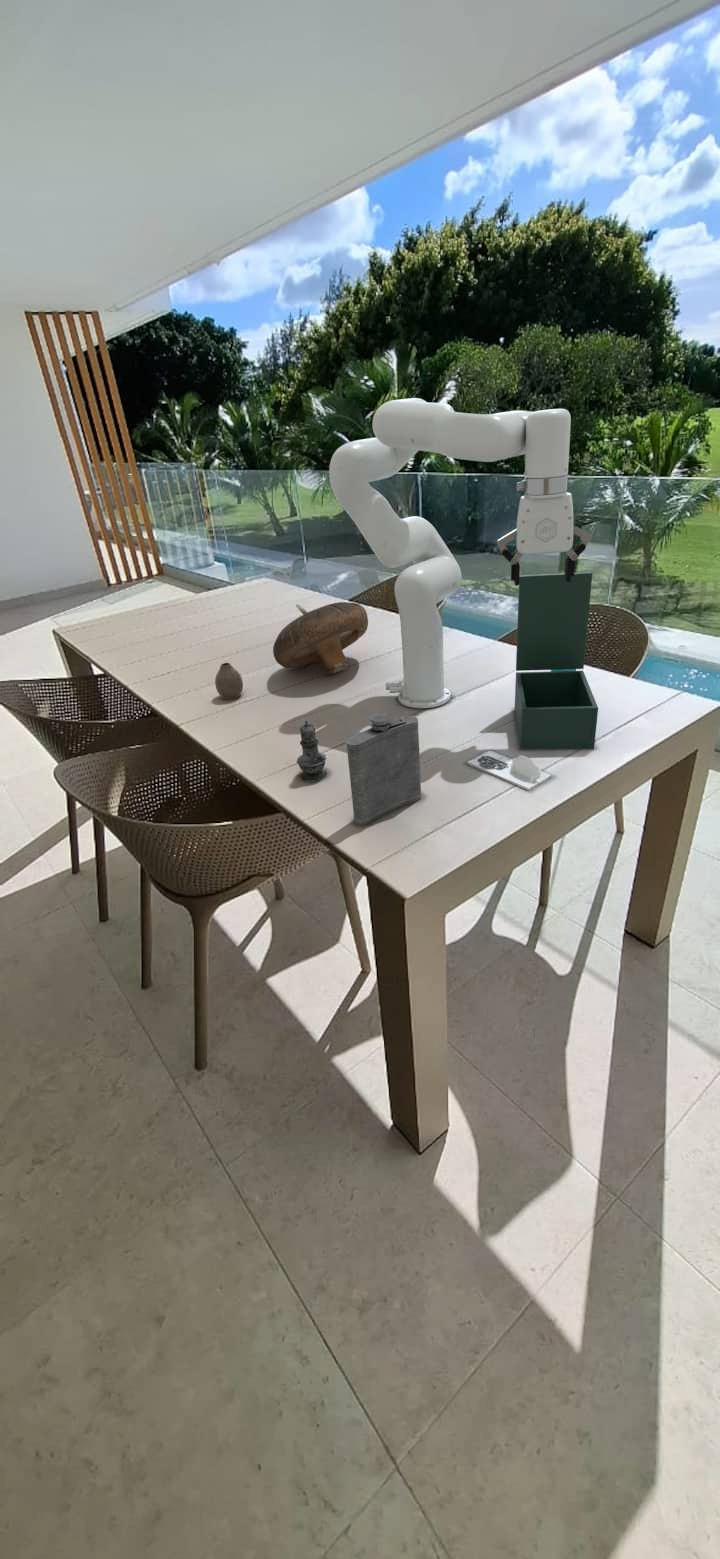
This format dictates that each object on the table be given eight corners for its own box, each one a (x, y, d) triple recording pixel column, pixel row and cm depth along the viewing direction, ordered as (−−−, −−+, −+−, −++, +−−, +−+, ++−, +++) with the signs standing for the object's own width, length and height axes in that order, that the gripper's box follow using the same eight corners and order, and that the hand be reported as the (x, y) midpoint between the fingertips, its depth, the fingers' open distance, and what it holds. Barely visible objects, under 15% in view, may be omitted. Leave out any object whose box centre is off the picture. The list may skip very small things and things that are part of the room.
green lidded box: (594, 748, 133) (598, 707, 129) (520, 749, 135) (522, 709, 131) (579, 707, 150) (583, 670, 146) (514, 709, 152) (515, 672, 148)
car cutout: (551, 777, 125) (552, 756, 123) (528, 790, 122) (529, 769, 119) (489, 752, 135) (490, 732, 133) (467, 764, 132) (467, 743, 130)
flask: (348, 818, 119) (338, 726, 110) (411, 790, 125) (407, 701, 116) (360, 827, 116) (351, 733, 107) (424, 797, 123) (420, 707, 114)
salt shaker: (298, 769, 136) (291, 715, 130) (327, 766, 136) (321, 712, 130) (298, 783, 131) (290, 728, 125) (328, 780, 131) (322, 725, 125)
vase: (250, 692, 174) (244, 660, 170) (235, 703, 169) (228, 670, 165) (228, 690, 177) (222, 658, 173) (212, 700, 172) (206, 668, 167)
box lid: (592, 572, 134) (588, 566, 139) (519, 576, 137) (517, 569, 141) (583, 669, 145) (580, 660, 150) (516, 671, 147) (514, 661, 152)
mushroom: (324, 648, 202) (353, 574, 188) (365, 694, 190) (399, 618, 176) (243, 648, 185) (267, 566, 171) (282, 699, 173) (312, 615, 158)
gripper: (498, 493, 119) (498, 590, 128) (599, 485, 117) (591, 583, 126) (495, 488, 126) (495, 580, 134) (591, 480, 124) (584, 574, 132)
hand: (541, 582), depth 130 cm, fingers open, 9 cm apart
